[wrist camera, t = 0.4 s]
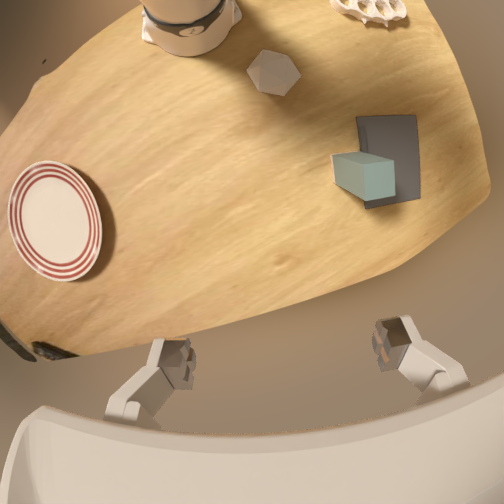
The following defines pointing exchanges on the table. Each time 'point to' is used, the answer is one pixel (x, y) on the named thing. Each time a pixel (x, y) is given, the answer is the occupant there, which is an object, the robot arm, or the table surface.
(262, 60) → the die
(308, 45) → the table surface
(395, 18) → the white multi-hole holder
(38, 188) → the dinner plate
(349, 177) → the block
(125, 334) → the table surface
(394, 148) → the charcoal mat
